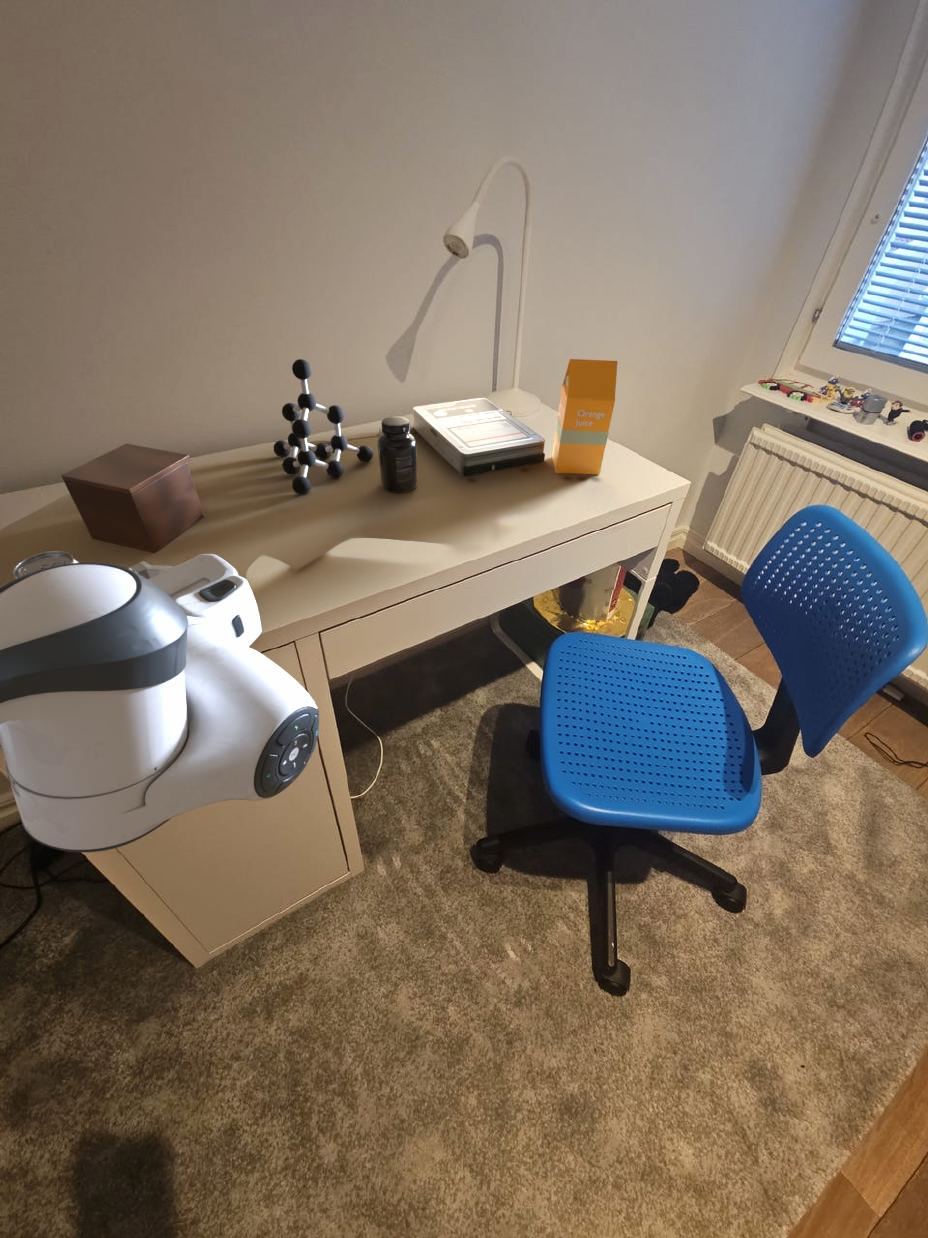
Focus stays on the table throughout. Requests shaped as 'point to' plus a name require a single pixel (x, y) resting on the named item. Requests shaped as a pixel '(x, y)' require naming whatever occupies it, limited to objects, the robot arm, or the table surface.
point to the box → (140, 511)
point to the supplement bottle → (397, 456)
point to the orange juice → (584, 416)
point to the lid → (126, 468)
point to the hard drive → (478, 436)
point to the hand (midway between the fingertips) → (89, 591)
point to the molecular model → (303, 430)
